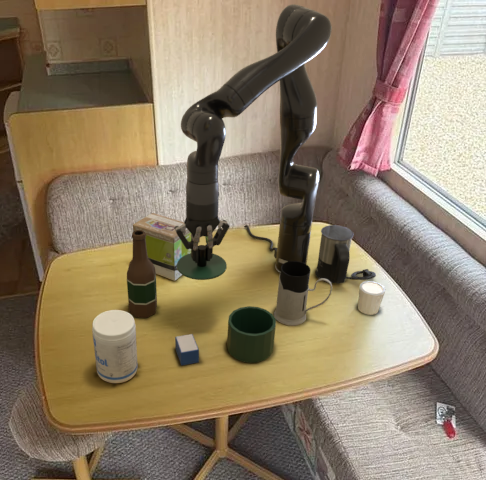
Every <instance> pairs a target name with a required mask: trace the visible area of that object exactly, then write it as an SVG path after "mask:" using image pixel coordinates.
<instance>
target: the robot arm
mask: <svg viewBox="0 0 486 480" xmlns="http://www.w3.org/2000/svg"><path fill="white" fill-rule="evenodd" d="M275 27H276V28H275V43H276V52H275V53H273V54H271V55H269V56H267V57H265V58H262V59H260V60H258V61H255V62H253V63H250V64H248V65H246V66H245V67H242V68H241V69H240V70H238V71H237V72H236V73H234V74H233V75H232V76H231V77H230V78H229V79H228V80H227V81H226V82H225V83H224V84H223V85H221V86H220V87H219V89H217V90H216V91H214V92H211V93H210V94H208V95H206V96H205V97H203V98H201V99H200V100H197V101H196V102H194V103H193V104H192V105H191V106H189V107H188V108H187V110H185V112H184V113H183V115H182V118H181V120H180V129H181V132H182V133H183V135H185V137H187V138H189V139H190V140H192V141H194V142H196V150H195V151H192V152H190V153H189V154H188V155H187V159H186V160H187V161H186V184H185V185H186V186H185V206H186V207H185V220H183V222H184V224H183V225H181V226H175V228H174V229H175V231H176V233H177V235H178V236H179V238H180V240H181V241H182V243H183V245H184V246H185V248H186V249H191V257H192V259H193V261H195V263H198V253H199V250H198V246H199V243H200V239H201V238H202V237H204V238H205V244H204V245H205V246H206V247H207V261H210V259H212V257H213V254H214V253H213V252H214V251H213V250H214V247H215V246H220V245H221V243H222V242H223V240H224V238H225V236H226V234H227V232H228V230H229V229H230V225H229V223H228V221H227V220H226V219H223V220H221V219H220V217H219V200H220V199H219V198H220V188H219V187H220V186H219V161H220V158H221V155H222V151H223V148H224V144H225V141H226V134H227V131H226V125H225V122H224V120H223V119H225V118H236V117H238V116H240V115H241V114H242V113H243V112H244V111H246V110H247V108H249V106H251V105H252V104H253V103H254V102H255V101H256V100H257V99H258V98H260V96H262V95H263V94H264V93H265V92H266V91H267V90H269V89H270V88H271V87H273V86H274V85H276V83H278V82H279V143H280V145H279V163H278V176H277V190H278V193H279V194H280V195H281V196H283V197H286V198H290V199H297V200H299V201H300V200H301V201H300V202H295V203H289V204H287V205H284V206H283V207H282V209H280V216H279V227H278V236H277V246H275V247H273V246H274V242H273V240H272V239H270V238H268V237H263V236H257V235H255V234H253V233H252V232H251V229H250V226H249V225H248V224H246V225H245V224H244V226H243V228H245V229H246V230H247V233H248V235H249V236H250V237H252V238H253V239H256V240H260V241H261V240H262V241H267V242H268V243H269V244H270V245H269V248H268V249H269V251H270V252H273V251H274V252H273V257H274V258H275V264H274V269H275V272H277V274H278V275H280V272H281V266H282V264H284V263H285V262H289V261H299V262H302V263H305V264H306V265H308V258H309V249H310V242H311V235H312V227H313V226H312V225H313V219H314V213H315V206H316V200H317V194H318V189H319V185H320V171H319V169H318V168H316V167H313V166H307V165H302V164H296V163H295V162H294V158H295V156H296V155H297V153H298V152H299V150H300V149H301V147H303V146H304V144H306V142H307V141H308V140H309V139H310V137H312V135H313V133H314V132H315V130H316V128H317V119H318V98H317V94H316V92H315V90H314V86H313V84H312V82H311V79H310V76H309V74H308V71H307V67H306V63H308V62H310V61H311V60H313V59H314V58H315V57H316V56H317V55H319V54H320V53H321V52H322V51H323V50H325V47H326V46H327V44H329V42H330V39H331V36H332V31H333V30H332V28H333V27H332V21H331V19H329V17H328V16H326V15H325V13H322V12H319V11H317V10H314V9H311V8H309V7H306V6H303V5H300V4H289V5H287V6H285V7H284V8H283V10H282V11H281V12H280V14H279V16H278V18H277V21H276V26H275ZM186 228H187V229H188V230H189V231H190V233H191V242H189V241H187V239H186V237H185V236H184V235H185V233H186V231H185V230H186ZM216 229H217V230H216ZM215 230H216V232H215ZM214 232H215V234H214V235H213V233H214Z"/></svg>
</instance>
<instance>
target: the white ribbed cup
mask: <svg viewBox="0 0 486 480" xmlns="http://www.w3.org/2000/svg"><path fill="white" fill-rule="evenodd" d="M358 288H359V289H358V297H357V298H358V300H357V309H358V311H359V312H361V313H362V314H364V315H369V316H372V315H373V316H374V315H376V314H378V313H379V310H380V308H381V305H382V302H383V298H384V296H385V293H386V287H385V286H384V285H383V284H381V283H380V282H377V281H373V280H365V281H362V282H361V283H359V287H358Z"/></svg>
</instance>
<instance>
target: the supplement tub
mask: <svg viewBox="0 0 486 480" xmlns="http://www.w3.org/2000/svg"><path fill="white" fill-rule="evenodd" d="M91 330H92V341H93V348H94V350H93V351H94V358H95V359H94V360H95V367H96V374H97V375H98V377H99V378H100V379H101V380H102V381H104V382H106V383H110V384H120V383H125V382H127V381H129V380H131V379H132V378H133V377H134V376H135V375H137V372H138V368H139V367H138V365H139V364H138V347H137V327H136V321H135V318H134V315H133V314H131V313H130V312H128V311H126V310H121V309H110V310H106V311H102V312H100V313H98V314H97V316H95V317H94V319H93V321H92V329H91Z"/></svg>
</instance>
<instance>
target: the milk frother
mask: <svg viewBox="0 0 486 480" xmlns="http://www.w3.org/2000/svg"><path fill="white" fill-rule="evenodd" d="M320 233H321V237H320V244H319V251H318V258H317V266H316V269H315V273H314V274H315V276H316V278H317V279H321V278H324V279H327V280H329V281H330V282H331V284H344V283H345V282H346V280H353V281H355V280H356V281H369V280H371V279H374V278H376V274H377V273H376V272H374V271H372V270H369V269H368V268H364V269H362V270H357V271H354V272H352V273H351V275H350V276H347V275H348V274H347V273H348V270H349V269H348V268H349V266H350V265H349V264H350V252H351V251H350V250H351V244H352V239H353V237H354V231H353V230H351V229H350V228H349V227H346V226H343V225H339V224H330V225H325V226H323V227H322V228H321V229H320ZM361 274H362V276H358V275H361ZM321 281H322V282H325V283H327V282H326V281H324V280H321Z"/></svg>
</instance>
